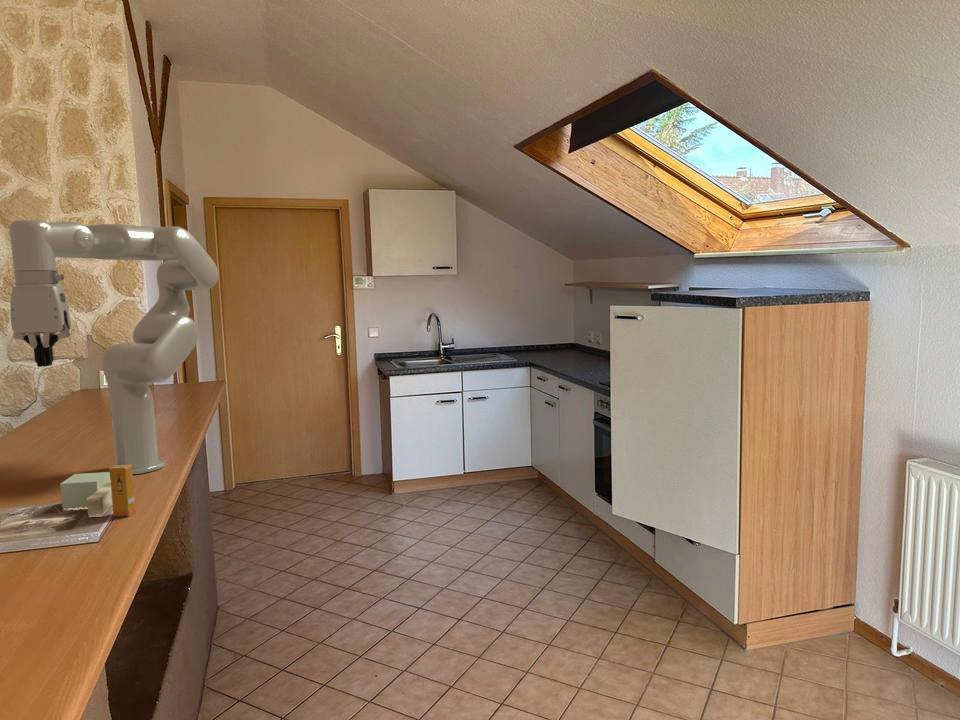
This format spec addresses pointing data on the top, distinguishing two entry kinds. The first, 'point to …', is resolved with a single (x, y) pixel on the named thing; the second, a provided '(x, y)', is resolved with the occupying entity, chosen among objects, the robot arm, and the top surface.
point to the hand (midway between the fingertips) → (44, 365)
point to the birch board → (100, 500)
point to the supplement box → (122, 490)
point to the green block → (81, 488)
